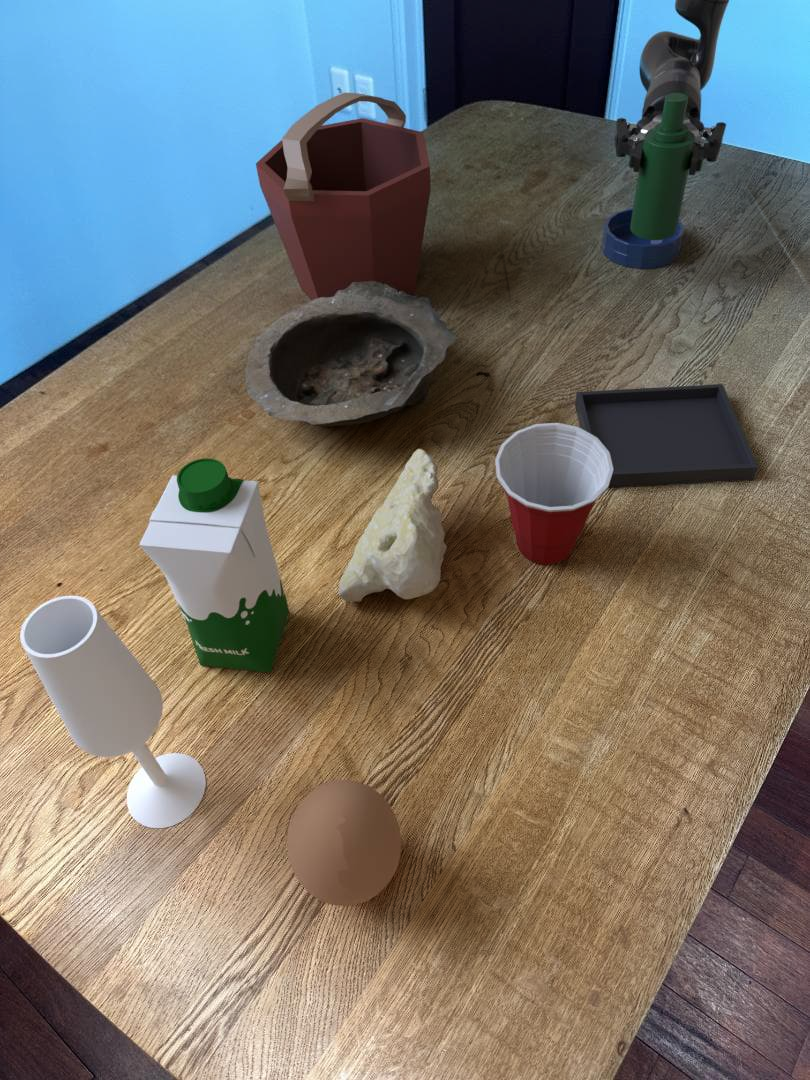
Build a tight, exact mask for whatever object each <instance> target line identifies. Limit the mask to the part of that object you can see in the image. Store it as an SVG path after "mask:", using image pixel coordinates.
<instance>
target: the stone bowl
mask: <svg viewBox="0 0 810 1080" xmlns="http://www.w3.org/2000/svg"><path fill="white" fill-rule="evenodd" d="M456 338H457V337H456V335H455V334H454V332H453V331H452V329H450V328H448V326H447V324H446V321H444V320H442V319H440V313H437V312H436V311H435V310H434V308H433V306H432V305H431V302H430V299H429V298H428V297H425V296H420V297H418V296H417V295H408V294H406V293H405V292H403V291H400V292H397V290H396V289H394V288H392V287H389V286H388V285H387V284H384V285H383V284H382V283H380V282H377V283H376V282H374V281H366V282H352V284H351V285H350V286H349V287H347V288H346V289H345V290H339V291H337V292H336V294H335V295H334V297H328V298H325V297H321V298H317V299H314V300H312V301H311V300H310V301H309V302H308V303H306V304H304V305H302V306H299V307H297V308H296V309H294V310H293V311H291V312H288V313H287V314H284V315H281V316H280V317H279V318H277V320H276V321H274V322H273V323H271V325H270V326H269V327H268V326H267V328H266V329H264V330H263V332H262V333H261V334H260V335H258V336H256V338H255V339H254V340H253V342H252V349H250V351H249V355H248V357H247V360H246V366H245V368H244V374H245V377H244V381H245V389H246V392H247V395H248V397H250V398H251V399H252V401H253V402H256V403H257V404H258V405H259V408H260V409H262V410H263V411H265V412H266V413H268V416H270V417H273V418H275V419H279V420H285V421H301V422H305V423H308V424H311V425H312V426H319V427H338V426H354V425H358V424H365V423H368V422H373V421H375V420H378V419H382V418H383V417H385V416H388V415H390V414H394V413H396V412H398V411H400V410H402V409H403V408H404V407H405V406H414V405H419V404H423V403H424V402H425V401H426V399H427V396H428V390H429V379H430V376H431V375H432V374H433V373H434V372H435V371H436V370H437V369H438V367H439V366H440V365H442V363H443V362H444V360H445V358H446V353H447V352H446V351H447V349H448V347H450V346H452V345H453V344H455V343H456V341H455V340H456Z"/></svg>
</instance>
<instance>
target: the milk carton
mask: <svg viewBox="0 0 810 1080" xmlns="http://www.w3.org/2000/svg"><path fill="white" fill-rule="evenodd" d="M148 521H149V523H148V525H147V528H146V530H145V532H144V534H143V536H142V538H141V540H140V542H139V547H140V548H141V549H142V551H144V553H146V555H147V556H148V557H149V558H150V559H151V560H152V562H154V564H155V565H156V566H157V568H158V569H160V571H161V572H162V573H163V575H164V577H165V580H166V581H167V584H168V586H169V588H170V590H171V593H172V594H173V596H174V600H175V601H176V603H177V605H178V608H179V610H180V613H181V615H182V617H183V619H184V621H185V623H186V626H187V629H188V632H189V635H190V638H191V642H192V645H193V647H194V650H195V654H196V656H197V660H198V663H199V665H200V666H201V667H210V668H211V667H212V668H221V669H228V670H229V669H230V670H239V671H248V672H249V671H251V672H257V673H258V672H259V673H267V674H271V673H272V671H273V667H274V664H275V660H276V658H277V654H278V651H279V647H280V644H281V642H282V638H283V634H284V631H285V628H286V626H287V625H286V624H287V622H288V619H289V615H290V609H289V604H288V601H287V597H286V593H285V590H284V586H283V581H282V578H281V575H280V571H279V568H278V564H277V561H276V557H275V553H274V550H273V546H272V543H271V539H270V535H269V532H268V528H267V523H266V518H265V512H264V507H263V502H262V496H261V490H260V484H259V481H255V480H244V479H243V478H232V477H230V476H229V474H228V470H227V467H226V466H225V464H224V463H222V461H220V460H218V459H215V458H209V457H203V458H198V459H195V460H192V461H190V462H188V463H186V464H185V465H183V466H182V467H181V468H180V470H179V471H178V473H177V475H174V474H173V475H171V478H170V479H169V481H168V483H167V485H166V487H165V489H164V491H163V493H162V495H161V497H160V499H159V501H158V502H157V504H156V506H155V509H154V510H153V511H152V513H151V515H150V517H149V520H148Z"/></svg>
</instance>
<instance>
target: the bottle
mask: <svg viewBox="0 0 810 1080" xmlns="http://www.w3.org/2000/svg"><path fill="white" fill-rule="evenodd" d="M687 102H688V96H687V95H685V94H682V93H671V94H668V95H666V97H665V102H664V108H663V114H662V120H661V123H658V124H657V125H655V127H654V128H653V129H650V130H649V131H647V132H646V134H645V136H644V142H643V149H642V156H641V162H640V169H639V172H638V174H637V181H636V188H635V194H634V199H633V207H632V208H633V212H632V218H631V225H630V230H631V232H632V233H633V234H634V235H636V236H637V237H640V238H643V239H647V240H663V239H667V238H670V237H672V236H673V235H674V234H675V233H676V230H677V225H678V221H679V219H680V215H681V210H682V205H683V201H684V196H685V190H686V185H687V181H688V175H689V166H690V161H691V157H692V152H693V147H694V142H695V135H694V134H693V133H692V132H691V131H689V130H688V127H687V126H686V125H685V124H683V123H684V118H685V112H686V107H687Z"/></svg>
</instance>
